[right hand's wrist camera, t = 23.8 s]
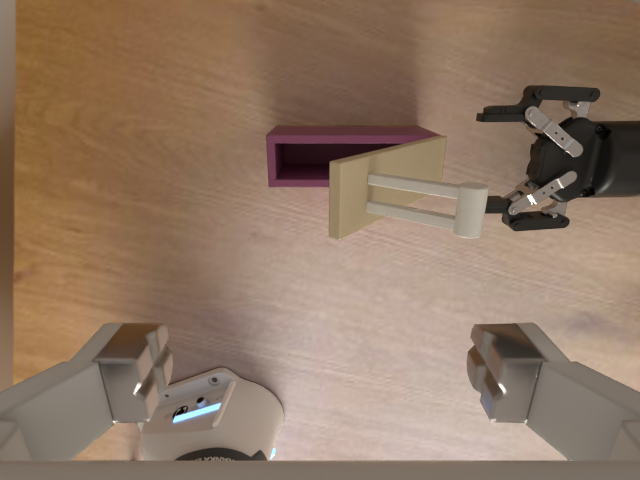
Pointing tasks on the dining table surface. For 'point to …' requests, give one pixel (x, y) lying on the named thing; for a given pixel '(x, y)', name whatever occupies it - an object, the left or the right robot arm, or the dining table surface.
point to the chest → (327, 149)
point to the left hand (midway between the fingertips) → (473, 161)
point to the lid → (400, 190)
